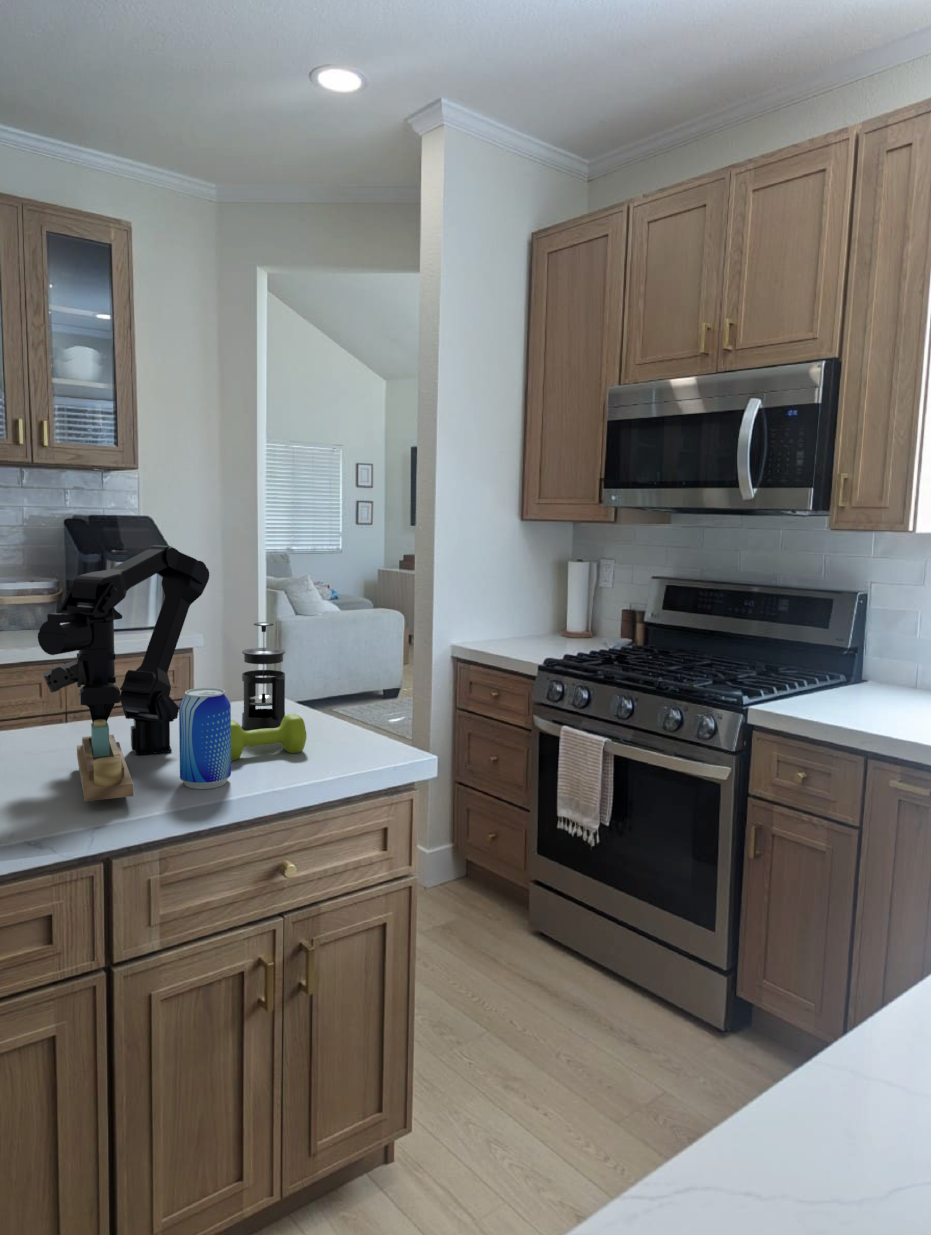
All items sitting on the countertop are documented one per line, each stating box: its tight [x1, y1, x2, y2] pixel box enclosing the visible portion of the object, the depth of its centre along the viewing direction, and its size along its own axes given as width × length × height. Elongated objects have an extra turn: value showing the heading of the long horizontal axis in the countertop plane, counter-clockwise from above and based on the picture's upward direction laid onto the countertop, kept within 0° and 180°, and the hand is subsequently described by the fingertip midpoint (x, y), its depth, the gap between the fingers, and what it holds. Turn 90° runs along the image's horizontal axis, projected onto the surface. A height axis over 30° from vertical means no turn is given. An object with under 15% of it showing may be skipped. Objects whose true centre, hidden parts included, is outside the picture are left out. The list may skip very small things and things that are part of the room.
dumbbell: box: [231, 713, 307, 762], centre depth 168 cm, size 16×8×7 cm, turn 120°
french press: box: [240, 621, 286, 731], centre depth 186 cm, size 12×9×23 cm
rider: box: [90, 720, 110, 757], centre depth 151 cm, size 3×4×6 cm, turn 26°
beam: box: [76, 734, 134, 802], centre depth 146 cm, size 7×26×8 cm, turn 26°
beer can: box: [178, 687, 232, 790], centre depth 149 cm, size 8×8×16 cm
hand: (98, 733), depth 155 cm, fingers closed
